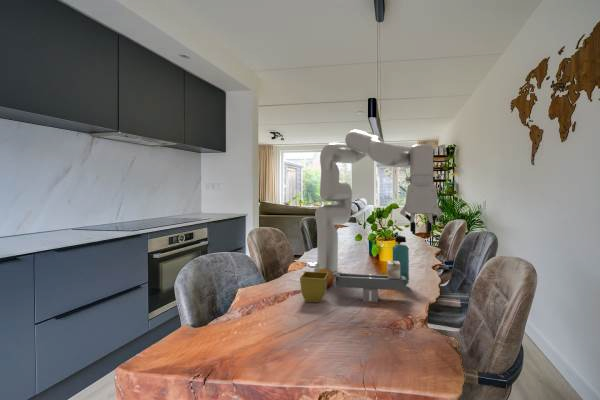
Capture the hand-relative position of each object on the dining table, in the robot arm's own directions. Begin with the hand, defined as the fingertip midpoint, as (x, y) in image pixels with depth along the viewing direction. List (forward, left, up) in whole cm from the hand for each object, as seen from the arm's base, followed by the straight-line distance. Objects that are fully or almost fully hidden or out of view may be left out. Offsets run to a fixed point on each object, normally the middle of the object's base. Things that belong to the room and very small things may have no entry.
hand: (420, 233), depth 119 cm
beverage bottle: (-5, +17, -24) cm, 29 cm away
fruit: (-35, +11, -24) cm, 44 cm away
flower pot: (-36, -7, -24) cm, 44 cm away
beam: (-17, 0, -23) cm, 29 cm away
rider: (-9, 0, -17) cm, 20 cm away
